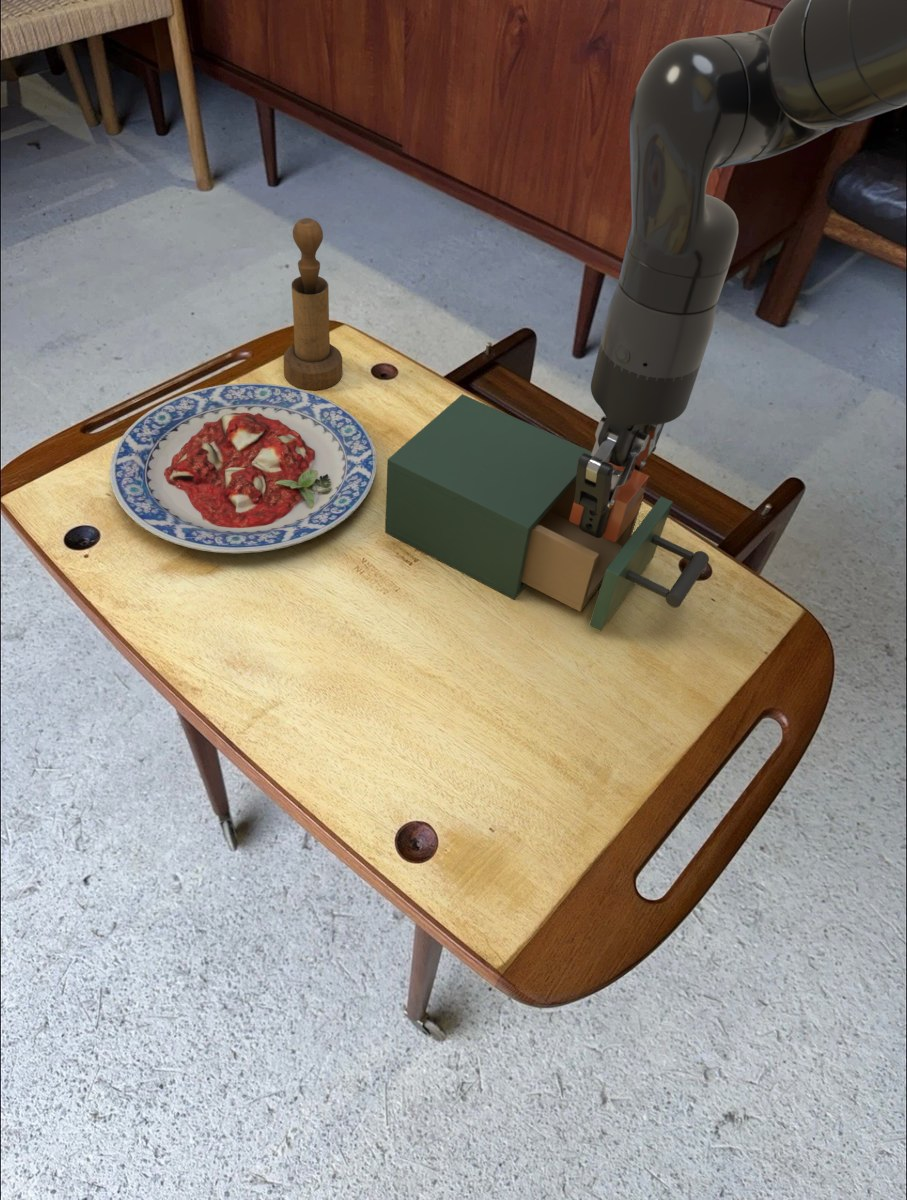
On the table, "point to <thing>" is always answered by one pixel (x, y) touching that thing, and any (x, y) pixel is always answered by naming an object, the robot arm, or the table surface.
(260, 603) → the table surface
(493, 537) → the cabinet
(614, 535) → the block
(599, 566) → the drawer
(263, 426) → the ceramic plate
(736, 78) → the robot arm
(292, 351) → the mortar and pestle
